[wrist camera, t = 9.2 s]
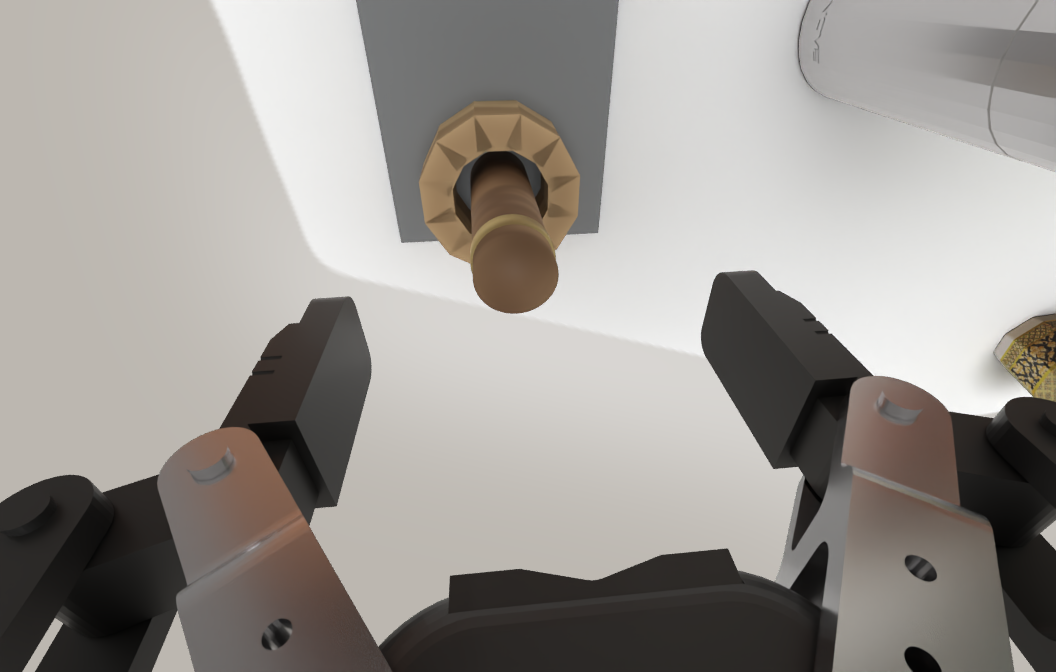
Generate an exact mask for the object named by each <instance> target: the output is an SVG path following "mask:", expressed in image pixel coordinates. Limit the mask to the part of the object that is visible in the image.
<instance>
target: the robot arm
mask: <svg viewBox="0 0 1056 672" xmlns="http://www.w3.org/2000/svg"><path fill="white" fill-rule="evenodd" d="M799 59H800V65H801V70H802V72H803V74H804V76H805V78H806V80H807V82H808V83H809V84H810V85H811V87H812V88H813V89H814V90H815V91H817V92H818V93H820V94H822V95H824V96H825V97H828V98H831V99H834V100H837V101H840V102H843V103H846V104H849V105H853V106H856V107H859V108H861V109H864V110H867V111H870V112H873V113H876V114H879V115H882V116H885V117H888V118H891V119H894V120H897V121H900V122H903V123H907V124H910V125H913V126H916V127H919V128H922V129H925V130H928V131H931V132H934V133H937V134H940V135H943V136H946V137H949V138H952V139H955V140H958V141H961V142H965V143H968V144H971V145H974V146H977V147H980V148H983V149H986V150H989V151H992V152H995V153H998V154H1001V155H1004V156H1007V157H1010V158H1013V159H1016V160H1019V161H1024V162H1027V163H1030V164H1033V165H1036V166H1039V167H1042V168H1045V169H1048V170H1051V171H1054V172H1056V0H810V2H809V5H808V8H807V11H806V13H805V16H804V19H803V22H802V27H801V32H800V37H799ZM701 343H702V348H703V351H704V354H705V356H706V358H707V359H708V361H709V363H710V364H711V366H712V368H713V369H714V371H715V373H716V374H717V376H718V378H719V379H720V381H721V382H722V384H723V386H724V388H725V389H726V391H727V393H728V394H729V396H730V397H731V399H732V401H733V402H734V404H735V406H736V408H737V409H738V410H739V412H740V414H741V416H742V417H743V419H744V421H745V422H746V424H747V426H748V427H749V429H750V430H751V432H752V434H753V436H754V437H755V439H756V441H757V442H758V444H759V446H760V447H761V449H762V451H763V452H764V454H765V456H766V457H767V459H768V460H769V462H770V464H771V466H772V467H773V469H778V468H789V467H799V469H800V470H801V472H802V473H803V476H802V478H801V480H800V482H799V485H798V488H797V492H796V498H795V502H794V507H793V512H792V516H791V521H790V526H789V531H788V536H787V540H786V545H785V551H784V555H783V559H782V563H781V566H780V570H779V572H778V575H777V577H776V580H775V582H773V581H771V580H768V579H765V578H763V577H760V576H756V575H753V574H749V573H746V572H742V571H738V570H737V568H736V566H735V564H734V561H733V559H732V557H731V555H730V552H729V550H728V549H718V550H708V551H698V552H688V553H678V554H667V555H661V556H658V557H655V558H653V559H650V560H648V561H645V562H643V563H640V564H638V565H635V566H633V567H630V568H628V569H625V570H622V571H620V572H618V573H615V574H613V575H610V576H608V577H605V578H603V579H599V580H593V581H591V580H583V579H577V578H571V577H565V576H559V575H553V574H547V573H540V572H535V571H529V570H523V569H514V570H504V571H494V572H484V573H474V574H464V575H453V576H450V587H449V598H447V599H444V600H441V601H439V602H437V603H435V604H433V605H431V606H429V607H427V608H425V609H424V610H422V611H420V612H419V613H417V614H416V615H414V616H413V617H411V618H410V619H409V620H407V621H406V622H404V623H403V624H402V625H401V626H400V627H398V628H397V629H396V630H395V631H394V632H393V633H392V634H390V635H389V636H388V637H387V639H385V641H384V642H383V643H382V644H381V645H380V646H379V647H378V646H377V644H376V642H375V640H374V639H373V637H372V635H371V633H370V632H369V630H368V628H367V626H366V625H365V623H364V621H363V619H362V618H361V616H360V614H359V612H358V611H357V609H356V607H355V605H354V604H353V602H352V600H351V599H350V597H349V595H348V593H347V592H346V590H345V588H344V586H343V584H342V583H341V581H340V579H339V578H338V576H337V574H336V572H335V570H334V569H333V567H332V565H331V564H330V562H329V560H328V558H327V556H326V555H325V553H324V551H323V549H322V548H321V546H320V544H319V543H318V541H317V539H316V537H315V536H314V534H313V532H312V530H311V528H310V527H309V525H310V522H311V519H312V516H313V512H314V509H315V508H321V507H322V508H323V507H334V506H337V503H338V499H339V495H340V491H341V487H342V484H343V480H344V477H345V473H346V468H347V465H348V462H349V458H350V454H351V450H352V447H353V443H354V439H355V435H356V432H357V428H358V424H359V421H360V417H361V413H362V409H363V406H364V401H365V398H366V394H367V390H368V387H369V383H370V379H371V358H370V353H369V349H368V346H367V342H366V339H365V336H364V332H363V329H362V326H361V322H360V319H359V316H358V313H357V309H356V306H355V303H354V301H353V300H352V298H351V297H335V298H319V299H313V300H312V301H311V302H310V304H309V305H308V307H307V309H306V311H305V313H304V315H303V317H302V319H301V321H300V323H293V324H288V325H287V326H286V327H285V328H284V329H283V330H281V331H280V332H279V333H278V334H277V335H275V337H273V338H272V339H271V340H270V341H269V343H268V345H267V347H266V348H265V350H264V352H263V354H262V355H261V361H258V362H257V364H256V366H255V368H254V369H253V371H252V376H249V378H248V380H247V382H246V383H245V385H244V387H243V388H242V390H241V392H240V394H239V396H238V397H237V399H236V401H235V402H234V404H233V406H232V408H231V409H230V411H229V413H228V415H227V416H226V418H225V420H224V422H223V423H222V425H221V427H220V429H217V430H214V431H211V432H208V433H205V434H203V435H201V436H199V437H197V438H195V439H193V440H191V441H190V442H188V443H187V444H185V445H183V446H182V447H181V448H180V449H178V450H177V451H176V452H175V453H174V454H173V455H172V456H171V457H170V458H169V459H168V460H167V462H166V463H165V464H164V466H163V468H162V469H161V471H160V474H159V475H156V476H153V477H150V478H147V479H143V480H140V481H137V482H134V483H131V484H128V485H125V486H121V487H118V488H115V489H112V490H109V491H106V492H103V493H102V492H100V491H99V489H98V488H97V487H96V486H95V485H94V484H93V483H92V482H91V481H89V480H88V479H87V478H85V477H82V476H79V475H65V476H58V477H53V478H50V479H46V480H43V481H40V482H38V483H35V484H33V485H31V486H29V487H26V488H24V489H22V490H21V491H19V492H17V493H15V494H13V495H12V496H10V497H9V498H7V499H5V500H4V501H3V502H1V503H0V672H22V671H23V670H24V668H25V666H26V665H27V663H28V661H29V660H30V658H31V656H32V655H33V653H34V651H35V650H36V648H37V646H38V645H39V643H40V641H41V640H42V638H43V637H44V635H45V633H46V631H47V630H48V628H49V627H50V625H51V623H52V622H53V620H54V618H56V619H58V620H59V621H61V622H62V623H63V625H62V627H61V629H60V630H59V632H58V634H57V635H56V637H55V639H54V640H53V642H52V644H51V645H50V647H49V649H48V651H47V652H46V654H45V656H44V657H43V659H42V661H41V663H40V664H39V666H38V668H37V669H36V671H35V672H152V669H153V667H154V665H155V662H156V660H157V657H158V655H159V653H160V650H161V648H162V646H163V643H164V641H165V638H166V636H167V634H168V631H169V629H170V627H171V624H172V622H173V619H174V617H175V615H176V612H177V610H178V614H179V617H180V621H181V624H182V628H183V631H184V635H185V638H186V642H187V646H188V649H189V653H190V656H191V660H192V664H193V667H194V671H195V672H1014V667H1013V660H1012V653H1011V646H1010V641H1009V637H1010V638H1011V639H1012V641H1013V642H1014V643H1015V645H1016V646H1017V647H1018V649H1019V650H1020V651H1021V653H1022V654H1023V655H1024V657H1025V658H1026V659H1027V661H1028V662H1029V663H1030V665H1031V666H1032V667H1033V669H1034V670H1035V671H1036V672H1056V550H1055V549H1054V548H1053V547H1052V546H1051V545H1050V544H1049V543H1048V542H1047V541H1046V540H1045V538H1043V536H1042V535H1041V534H1040V533H1041V532H1042V531H1043V530H1044V529H1046V528H1047V527H1048V526H1049V525H1050V524H1052V523H1053V522H1054V521H1055V520H1056V402H1054V401H1051V400H1047V399H1042V398H1035V397H1019V398H1015V399H1012V400H1010V401H1008V402H1007V403H1006V405H1005V406H1004V407H1003V408H1002V409H1001V411H1000V412H999V413H998V414H997V416H996V417H995V418H988V417H981V416H975V415H968V414H961V413H955V412H948V410H947V409H946V408H945V406H944V405H943V404H942V403H941V402H940V401H939V400H938V399H936V398H935V397H934V396H932V395H931V394H930V393H928V392H926V391H925V390H923V389H921V388H919V387H917V386H915V385H913V384H911V383H908V382H905V381H902V380H899V379H895V378H891V377H885V376H873V375H872V374H871V373H870V372H869V371H868V370H867V369H866V368H865V367H864V366H863V365H862V364H861V363H860V362H859V361H858V360H857V359H856V358H855V357H854V356H853V355H852V354H851V353H850V352H849V351H848V350H847V349H846V348H845V347H844V346H843V345H842V344H841V343H840V342H839V341H838V340H837V339H836V338H835V337H834V336H833V335H832V334H828V330H827V329H826V328H825V327H824V326H823V325H822V324H821V323H820V322H819V321H816V318H815V317H814V315H813V314H812V313H811V312H810V311H809V310H808V309H807V308H806V307H805V306H804V305H803V304H802V303H800V302H798V301H797V300H795V299H793V298H791V297H789V296H788V295H786V294H784V293H782V292H780V291H775V289H774V288H773V287H772V286H771V285H770V284H769V283H768V282H767V281H766V280H765V279H764V278H763V277H762V276H761V275H760V274H759V273H758V272H757V271H753V270H752V271H737V272H722V273H719V274H718V275H717V276H716V277H715V279H714V282H713V285H712V289H711V294H710V298H709V302H708V306H707V310H706V314H705V318H704V322H703V326H702V330H701Z"/></svg>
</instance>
